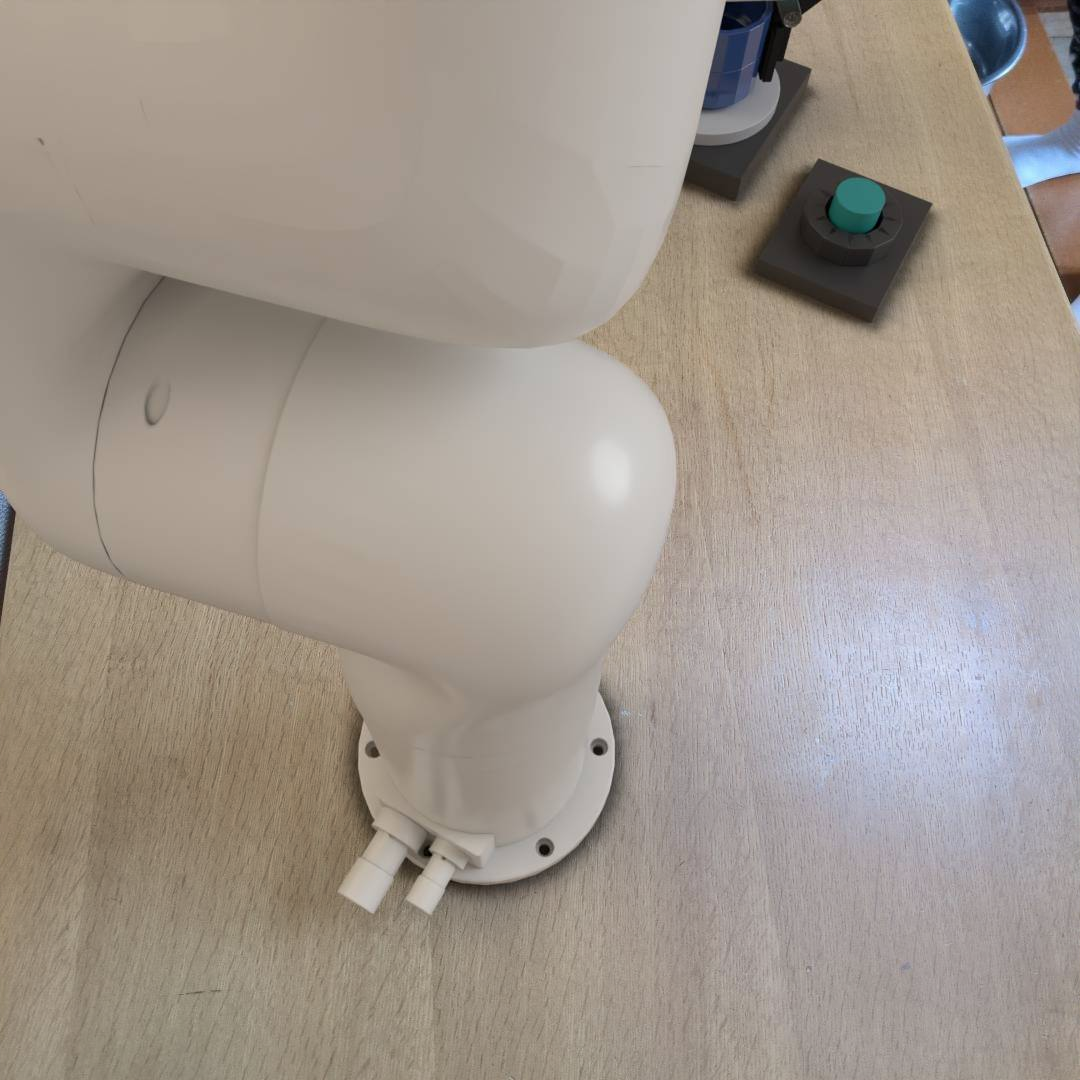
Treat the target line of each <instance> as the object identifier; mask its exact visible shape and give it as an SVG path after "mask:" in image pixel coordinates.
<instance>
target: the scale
mask: <svg viewBox="0 0 1080 1080" xmlns="http://www.w3.org/2000/svg"><path fill="white" fill-rule="evenodd" d="M812 70H813V69H812V68H810V67H808V66H806V65H802V64H800V63H797V62H795V61H792V60H789V59H787V58H784V59H783V61H782V62H776V65H775V69H774V73H773V77H772V81H771V82H762V80H760V79H759V75H758V74H757V78H756V82H755V85H754V87H753V88H752V90H751V91H750V93H749V94H748V96H747V97H746V98H744V99H743V100H741V101H739V102H737V103H736V104H734V105H731V106H728V107H725V108H721V109H715V110H704V109H701V114H700V118H699V122H698V127H697V131H696V136H695V140H694V144H693V147H692V151H691V155H690V158H689V162H688V166H687V170H686V173H685V177H684V181H685V182H687V183H690V184H692V185H695V186H697V187H699V188H702V189H704V190H707V191H709V192H711V193H714V194H716V195H719V196H722V197H724V198H726V199H729V200H731V201H734V202H737V200H738V199H739V197H740V196H741V194H742V192H743V191H744V190H745V188H746V186H747V184H748V183H749V181H750V179H751V178H752V176H753V175H754V174H755V172H756V170H757V169H758V167H759V166H760V165H761V162H762V161H763V160H764V158H765V157H766V154H767V153H768V152H769V151H770V148H771V147H772V145H773V143H774V142H775V141H776V139H777V137H778V135H780V132H781V131H782V129H783V128H784V126H785V125H786V123H787V122H788V120H789V118H790V117H791V115H792V114H793V112H794V111H795V109H796V108H797V106H798V104H799V103H800V102H801V100H802V99H803V96H804V95H805V94H806V90H807V87H808V84H809V81H810V77H811V73H812Z"/></svg>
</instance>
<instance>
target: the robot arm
mask: <svg viewBox="0 0 1080 1080" xmlns="http://www.w3.org/2000/svg"><path fill="white" fill-rule="evenodd" d="M737 1H773V12H772V16H771V20H770V25H769V29H768V33H767V37H766V41H765V45H764V49H763V53H762V57H761V61H760V66H759V70H758V75H759V79H760V80H762V82H771V81H772V77H773V73H774V69H775V65H776V62H782V61H783V59H785V55H786V52H787V48H788V44H789V40H790V38H791V37H790V36H791V33H792V29H793V28H796V27H798V25H800V24H801V22H802V20H803V15H804V14H805V13H807V12H808V11H809V10H811V9H812V8H813V7H815V6H816V5H817V4H819V3H820V2H821V1H822V0H0V491H1V493H2V494H3V497H5V499H6V501H7V502H8V503H9V505H10V506H11V507H12V509H13V510H14V511H15V513H16V514H17V516H18V517H19V518H20V519H21V520H22V522H23V523H24V524H25V525H26V526H27V527H28V528H29V529H30V530H31V532H32V533H33V534H35V535H36V536H37V537H38V538H39V539H40V540H42V541H43V542H44V543H45V544H47V546H49V547H50V548H52V549H53V550H55V551H56V552H58V553H60V554H61V555H63V556H65V557H67V558H69V559H71V560H72V561H75V562H77V563H79V564H81V565H84V566H86V567H88V568H91V569H93V570H96V571H99V572H101V573H104V574H106V575H110V576H113V577H115V578H118V579H122V580H124V581H127V582H131V583H133V584H136V585H140V586H141V587H142V586H143V587H145V588H149V589H152V590H156V591H159V592H162V593H165V594H168V595H169V594H170V595H172V596H175V597H179V598H182V599H185V600H189V601H192V602H194V603H195V602H196V603H199V604H201V605H202V604H203V605H206V606H209V607H212V608H216V609H219V610H222V611H226V612H229V613H232V614H235V615H239V616H243V617H245V618H250V619H252V620H256V621H260V622H263V623H265V624H270V625H273V626H275V627H276V628H278V629H279V630H281V631H284V632H288V633H291V634H294V635H297V636H301V637H304V638H308V639H311V640H314V641H318V642H320V643H325V644H328V645H330V646H333V647H337V656H338V660H339V665H340V668H341V673H342V676H343V679H344V682H345V685H346V686H347V690H348V693H349V694H350V697H351V698H352V701H353V702H354V705H355V707H356V709H357V710H358V712H359V713H360V715H361V717H362V719H363V720H362V726H361V730H360V734H359V735H360V736H359V740H358V753H357V754H358V759H357V769H358V773H359V774H358V775H359V781H360V785H361V792H362V794H363V797H364V799H365V802H366V805H367V807H368V809H369V812H370V814H371V816H372V819H373V821H372V823H371V827H372V828H373V829H374V830H375V831H376V832H375V834H374V836H373V837H372V839H371V840H370V842H369V843H368V845H367V847H366V849H364V852H363V853H362V854H361V856H357V859H356V860H355V861H354V863H353V865H352V867H351V868H350V870H349V871H348V873H347V875H346V876H345V877H344V879H343V881H342V882H341V884H340V885H339V887H338V888H337V891H336V893H337V894H339V895H340V896H342V897H343V898H344V899H345V900H348V901H349V902H351V903H352V904H354V905H355V906H357V907H358V908H360V909H362V910H364V911H365V912H367V913H369V914H371V915H375V913H376V911H377V910H378V908H379V906H380V904H381V903H382V901H383V899H384V898H385V896H386V894H387V893H388V891H389V890H390V888H391V886H392V884H393V883H394V881H395V878H394V877H395V876H396V875H397V872H398V870H399V869H400V867H401V865H402V864H403V862H404V860H405V859H408V860H409V861H410V862H412V864H414V865H416V866H418V867H420V868H421V869H423V870H422V872H421V874H418V876H417V878H416V879H415V881H414V883H413V884H412V886H411V888H410V889H409V891H408V892H407V895H406V897H405V898H404V901H405V902H406V903H408V904H409V905H411V906H412V907H414V909H417V910H419V912H422V913H424V914H425V915H427V916H430V917H431V916H432V915H433V913H434V911H435V909H436V908H437V906H438V904H439V902H440V900H442V897H443V895H444V894H445V892H446V887H447V886H448V884H449V883H450V881H453V882H455V883H456V882H457V883H460V884H468V885H469V884H470V885H480V886H481V885H482V886H491V885H499V884H508V883H509V884H510V883H514V882H517V881H520V880H524V879H527V878H529V877H533V876H537V875H538V874H540V873H541V872H543V871H545V870H547V869H548V868H551V867H552V866H554V865H556V864H558V863H559V862H561V861H562V860H563V859H564V858H565V857H567V855H569V854H570V853H571V852H572V851H573V850H575V849H576V848H578V846H579V845H580V844H581V842H582V841H583V840H584V839H585V838H586V837H587V835H588V834H589V832H591V830H592V829H593V827H594V826H595V824H596V822H597V821H598V819H599V817H600V815H601V813H602V811H603V809H604V807H605V805H606V802H607V799H608V796H609V793H610V790H611V786H612V782H613V776H614V770H615V765H616V760H615V759H616V739H615V735H614V730H613V725H612V721H611V720H612V719H611V717H610V713H609V711H608V709H607V706H606V704H605V702H604V699H603V697H602V695H601V693H600V691H599V689H600V685H601V679H602V675H603V671H604V666H605V663H606V657H607V655H608V651H609V649H610V648H611V647H612V645H613V644H614V642H615V641H616V640H617V639H618V637H619V636H620V635H621V633H622V632H623V631H624V629H625V628H626V626H627V625H628V623H629V621H631V618H632V617H633V615H634V614H635V612H636V610H637V608H638V607H639V604H640V603H641V600H642V599H643V597H644V595H645V593H646V591H647V589H648V587H649V585H650V583H651V581H652V580H653V576H654V574H655V572H656V569H657V567H658V565H659V562H660V560H661V557H662V553H663V550H664V549H665V544H666V541H667V539H668V534H669V530H670V526H671V525H670V524H671V521H672V520H671V519H672V516H673V512H674V511H673V510H674V505H675V499H676V493H677V492H676V491H677V477H678V476H677V475H678V474H677V468H678V467H677V466H678V465H677V463H678V462H677V452H676V445H675V439H674V434H673V431H672V428H671V425H670V422H669V419H668V416H667V414H666V412H665V409H664V407H663V406H662V404H661V402H660V401H659V399H658V397H657V396H656V394H655V393H654V392H653V390H652V389H651V387H650V386H649V385H648V384H647V383H646V382H645V380H643V379H642V378H641V377H640V376H639V375H638V374H637V373H635V372H634V371H633V370H632V369H631V368H630V367H628V366H627V365H625V364H624V363H623V361H620V360H618V359H617V358H616V357H614V356H613V355H611V354H609V353H608V352H605V351H603V350H601V349H599V348H597V347H595V346H593V345H591V344H589V343H587V342H584V341H582V340H581V339H579V338H580V337H582V336H585V335H586V334H588V333H590V332H591V331H594V330H595V329H597V328H599V327H600V326H603V325H605V324H606V323H607V322H609V321H610V320H612V318H614V317H615V316H616V315H617V314H618V313H619V312H620V310H621V309H622V308H623V307H624V306H625V305H626V304H627V302H628V301H629V300H630V299H631V298H632V297H633V296H634V295H635V293H636V292H637V291H639V289H640V287H641V286H642V284H643V283H644V280H645V278H646V277H647V275H648V273H649V271H650V269H651V267H652V265H653V263H654V261H655V259H656V257H657V256H658V254H659V252H660V251H661V247H662V245H663V244H664V242H665V239H666V236H667V232H668V230H669V227H670V225H671V223H672V222H671V221H672V218H673V216H674V213H675V210H676V207H677V204H678V202H679V199H680V195H681V191H682V188H683V184H684V181H685V180H684V177H685V173H686V170H687V166H688V162H689V158H690V155H691V151H692V147H693V144H694V140H695V136H696V131H697V127H698V122H699V118H700V114H701V109H702V105H703V100H704V96H705V91H706V87H707V82H708V78H709V73H710V69H711V65H712V60H713V56H714V51H715V47H716V42H717V38H718V33H719V29H720V25H721V20H722V16H723V11H724V7H725V2H737ZM595 748H600V749H601V750H602V753H601V754H597V753H594V749H595ZM375 750H377V751H378V754H379V755H378V756H376V757H374V756H372V753H373V752H374V751H375ZM543 846H546V847H547V848H548V850H549V852H548V853H547V854H541V852H540V848H542V847H543ZM426 848H428V851H429V852H430V853H431V855H430V856H426V855H425V854H424V851H425V850H426Z"/></svg>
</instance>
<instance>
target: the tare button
mask: <svg viewBox="0 0 1080 1080" xmlns="http://www.w3.org/2000/svg"><path fill="white" fill-rule="evenodd" d="M884 204H885V194H884V192H883V190H882V189H881V187H880V186H879V185H877V184H876V183H875V182H873V181H871V180H868V179H865V178H850V179H847V180H845V181H843V182H842V183H840V184H839V186H838V187H837V190H836V192H835V195H834V198H833V201H832V203H831V206H830V209H829V218H830V220H831V222H832V223H833V225H834V226H835V227H837V228H838V229H840V230H842V231H845V232H847V233H850V234H863V233H866V232H868V231H870V230H871V229H872V228H873V227H874V226H875V225H876V222H877V220H878V218H879V215H880V213H881V211H882V208H883V206H884Z"/></svg>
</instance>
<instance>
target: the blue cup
mask: <svg viewBox="0 0 1080 1080" xmlns="http://www.w3.org/2000/svg"><path fill="white" fill-rule="evenodd" d="M772 12H773V1H737V2H725V7H724V11H723V16H722V20H721V25H720V29H719V33H718V38H717V42H716V47H715V51H714V56H713V60H712V65H711V69H710V73H709V78H708V82H707V87H706V91H705V96H704V100H703V105H702V109H704V110H715V109H721V108H725V107H728V106H731V105H734V104H736V103H737V102H739V101H741V100H743V99H744V98H746V97H747V96H748V94H749V93H750V91H751V90H752V88H753V87H754V85H755V82H756V78H757V74H758V70H759V66H760V61H761V57H762V53H763V49H764V45H765V41H766V37H767V33H768V29H769V25H770V20H771V16H772Z"/></svg>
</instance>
